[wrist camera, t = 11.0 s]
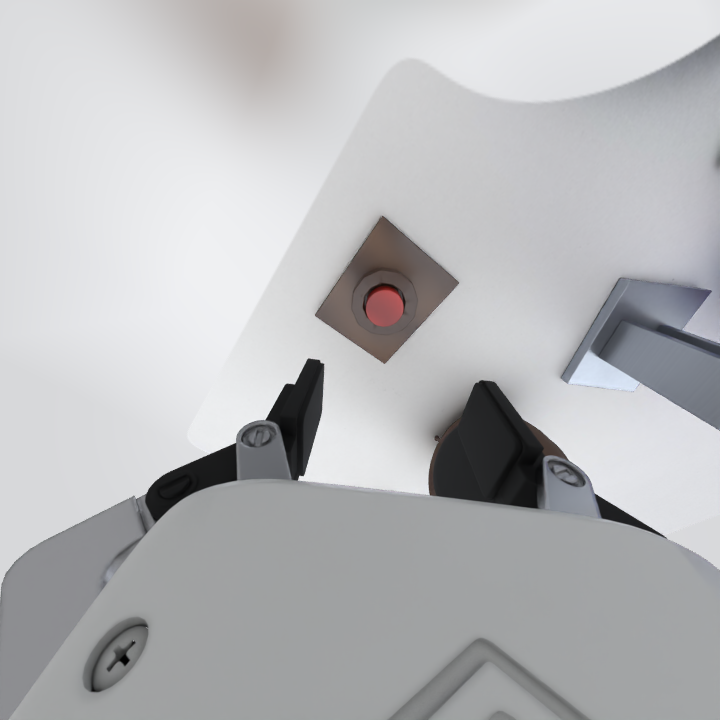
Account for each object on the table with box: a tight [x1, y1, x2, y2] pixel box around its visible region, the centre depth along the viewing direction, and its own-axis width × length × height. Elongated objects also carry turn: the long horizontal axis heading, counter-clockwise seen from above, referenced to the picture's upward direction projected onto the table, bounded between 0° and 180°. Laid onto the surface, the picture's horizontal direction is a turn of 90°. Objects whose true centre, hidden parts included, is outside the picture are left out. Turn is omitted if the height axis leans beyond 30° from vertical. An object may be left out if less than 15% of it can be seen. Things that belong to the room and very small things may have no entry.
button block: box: [315, 216, 459, 364], centre depth 26 cm, size 12×10×2 cm
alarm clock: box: [429, 418, 569, 503], centre depth 26 cm, size 14×7×20 cm, turn 146°
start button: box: [366, 286, 404, 327], centre depth 25 cm, size 4×4×2 cm
